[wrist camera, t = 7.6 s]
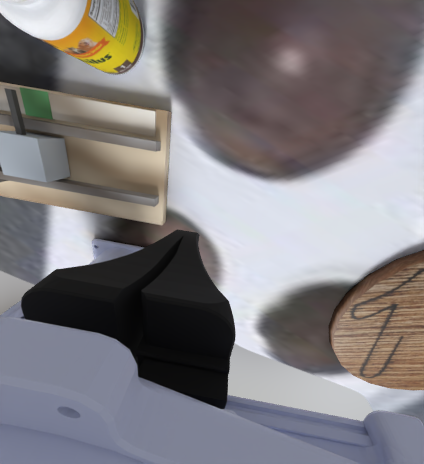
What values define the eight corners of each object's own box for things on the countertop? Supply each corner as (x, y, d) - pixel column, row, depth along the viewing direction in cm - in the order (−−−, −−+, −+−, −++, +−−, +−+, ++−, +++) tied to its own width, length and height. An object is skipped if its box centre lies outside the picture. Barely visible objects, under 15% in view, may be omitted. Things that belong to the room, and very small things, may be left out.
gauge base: (165, 221, 23) (151, 239, 19) (-1, 190, 23) (-50, 202, 19) (171, 112, 18) (153, 105, 14) (-39, 76, 18) (-116, 58, 14)
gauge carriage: (70, 176, 20) (46, 182, 18) (32, 169, 20) (3, 174, 18) (57, 98, 17) (26, 91, 15) (13, 90, 17) (-26, 82, 15)
